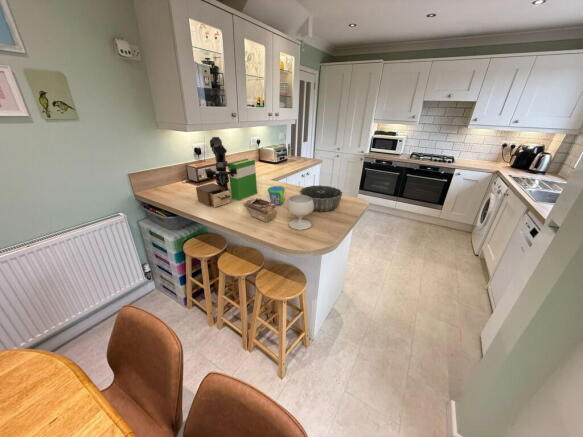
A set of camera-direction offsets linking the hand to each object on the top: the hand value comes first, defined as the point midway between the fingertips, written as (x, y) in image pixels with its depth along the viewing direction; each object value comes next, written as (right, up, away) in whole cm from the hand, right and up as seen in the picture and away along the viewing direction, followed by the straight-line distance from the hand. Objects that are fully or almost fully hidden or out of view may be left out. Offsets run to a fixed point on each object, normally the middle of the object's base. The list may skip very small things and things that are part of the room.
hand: (222, 185), depth 145 cm
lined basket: (+24, -20, -12) cm, 33 cm away
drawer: (-4, -11, +6) cm, 13 cm away
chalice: (+47, -24, -20) cm, 57 cm away
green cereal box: (+10, -5, +21) cm, 23 cm away
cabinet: (-10, -9, +11) cm, 17 cm away
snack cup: (+33, -11, +7) cm, 36 cm away
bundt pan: (+61, -13, +3) cm, 63 cm away
